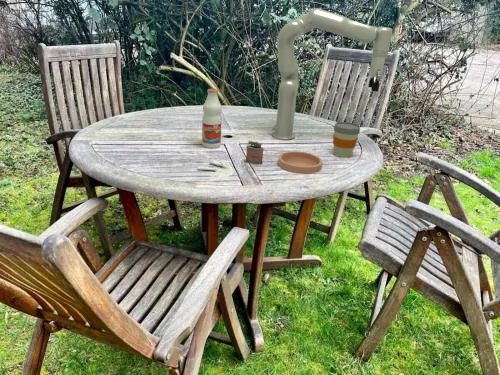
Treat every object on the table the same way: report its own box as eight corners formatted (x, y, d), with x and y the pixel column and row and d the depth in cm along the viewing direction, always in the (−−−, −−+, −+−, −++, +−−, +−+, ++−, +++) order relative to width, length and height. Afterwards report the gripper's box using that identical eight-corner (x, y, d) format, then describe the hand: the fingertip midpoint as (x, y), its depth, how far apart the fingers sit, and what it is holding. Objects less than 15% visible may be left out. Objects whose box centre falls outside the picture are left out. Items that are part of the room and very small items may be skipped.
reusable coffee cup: (357, 153, 208) (362, 124, 202) (352, 160, 198) (357, 131, 192) (333, 148, 213) (337, 120, 206) (327, 155, 202) (331, 126, 196)
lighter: (263, 162, 188) (265, 142, 184) (261, 165, 185) (262, 144, 181) (247, 159, 190) (248, 139, 186) (244, 162, 187) (245, 141, 183)
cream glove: (221, 183, 166) (221, 177, 165) (180, 169, 176) (180, 164, 175) (247, 168, 182) (248, 163, 181) (208, 156, 192) (208, 151, 191)
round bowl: (269, 162, 188) (269, 156, 187) (298, 154, 201) (299, 148, 200) (301, 177, 175) (302, 170, 174) (330, 167, 188) (331, 161, 186)
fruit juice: (217, 141, 210) (218, 87, 198) (223, 147, 203) (225, 91, 191) (199, 143, 207) (200, 87, 195) (205, 149, 199) (206, 92, 187)
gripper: (369, 51, 207) (362, 85, 214) (375, 55, 192) (368, 92, 199) (384, 52, 207) (377, 86, 214) (391, 57, 191) (383, 93, 198)
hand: (373, 89), depth 206 cm, fingers open, 9 cm apart
